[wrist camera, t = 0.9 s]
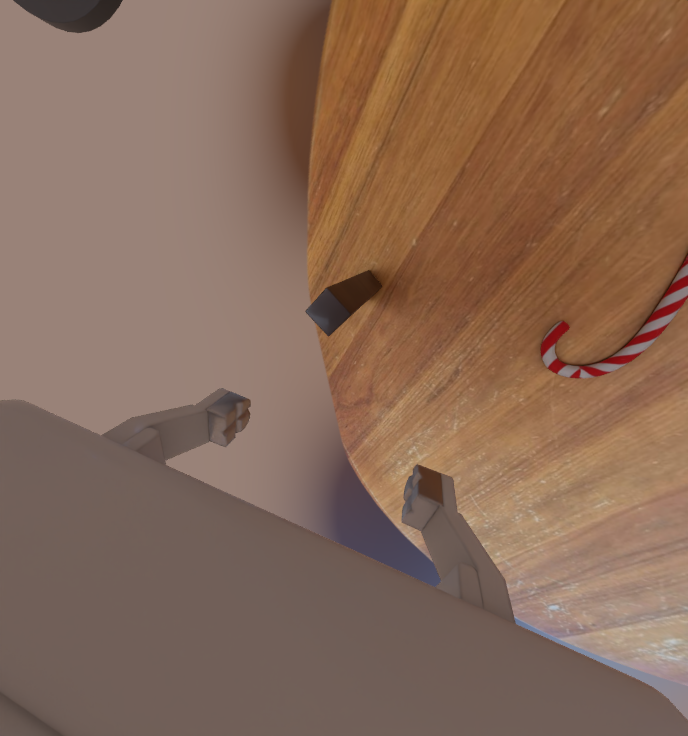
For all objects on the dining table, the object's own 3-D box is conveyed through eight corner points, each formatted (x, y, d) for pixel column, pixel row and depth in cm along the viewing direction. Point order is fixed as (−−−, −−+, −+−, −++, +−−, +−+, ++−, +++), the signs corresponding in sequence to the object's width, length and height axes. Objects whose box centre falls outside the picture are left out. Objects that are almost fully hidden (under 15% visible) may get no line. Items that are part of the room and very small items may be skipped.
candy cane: (773, 243, 18) (599, 394, 26) (753, 243, 20) (592, 388, 27) (667, 202, 19) (527, 361, 27) (654, 204, 20) (523, 357, 28)
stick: (354, 284, 30) (304, 311, 17) (368, 269, 28) (326, 287, 16) (367, 300, 30) (328, 336, 18) (382, 285, 29) (351, 314, 17)
